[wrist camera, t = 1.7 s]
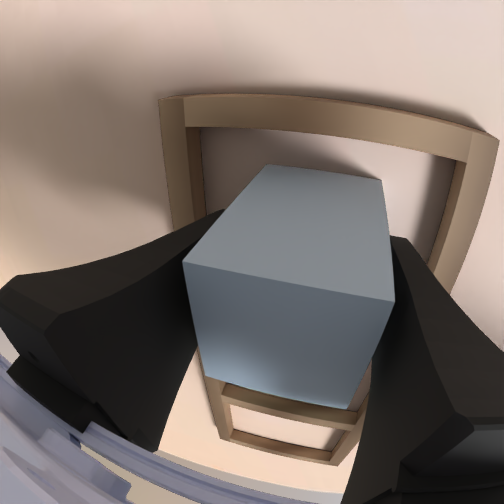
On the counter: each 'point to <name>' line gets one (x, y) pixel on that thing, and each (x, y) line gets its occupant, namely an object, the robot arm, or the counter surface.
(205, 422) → the counter surface
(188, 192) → the rack
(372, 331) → the block
